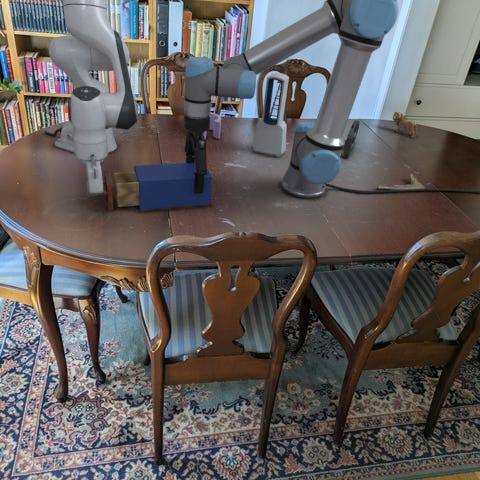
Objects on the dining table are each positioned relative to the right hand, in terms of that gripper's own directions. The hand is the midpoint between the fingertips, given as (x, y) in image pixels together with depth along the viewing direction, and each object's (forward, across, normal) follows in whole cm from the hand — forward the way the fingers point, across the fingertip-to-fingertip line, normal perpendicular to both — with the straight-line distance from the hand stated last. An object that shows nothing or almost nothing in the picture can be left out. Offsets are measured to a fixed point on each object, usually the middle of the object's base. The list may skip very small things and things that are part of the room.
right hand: (194, 184), depth 145 cm
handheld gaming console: (+5, +32, -76) cm, 82 cm away
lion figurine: (+5, +49, -114) cm, 124 cm away
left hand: (+1, 0, +30) cm, 30 cm away
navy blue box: (+5, 0, +7) cm, 9 cm away
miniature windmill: (+5, +62, -54) cm, 82 cm away
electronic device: (+5, +34, -39) cm, 52 cm away
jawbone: (+5, -1, -76) cm, 77 cm away
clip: (+5, +60, -19) cm, 63 cm away
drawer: (+4, 0, +19) cm, 20 cm away
